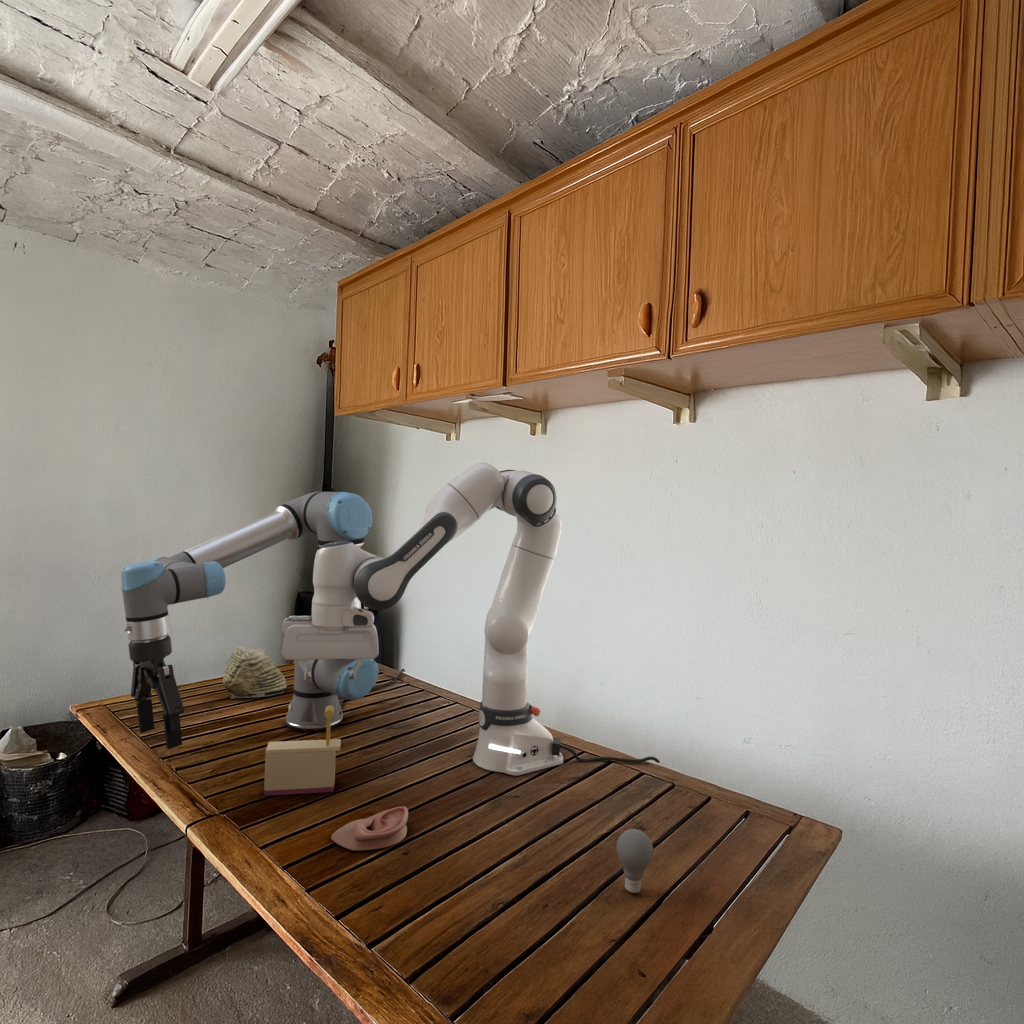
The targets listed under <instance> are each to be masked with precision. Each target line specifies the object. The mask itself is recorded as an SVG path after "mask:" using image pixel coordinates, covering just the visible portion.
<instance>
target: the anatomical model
mask: <svg viewBox="0 0 1024 1024" xmlns="http://www.w3.org/2000/svg"><path fill="white" fill-rule="evenodd" d="M408 819H409V809H408V808H407V807H406V806H405V805H404V806H402V805H401V806H396V807H393V808H389V809H386V810H382V811H381V812H378V813H376V814H373V815H371V816H369V817H365V818H360V819H356V820H352V821H350V822H348V823H345V824H344V825H343V826H341V827H339V828H337V830H335V831H334V832H333V833H332V834H331V836H330V839H331V841H333V843H336V845H338V846H339V847H342V848H344V849H347V850H350V851H357V852H359V851H371V850H379V849H383V848H388V847H392V846H394V845H396V844H399V843H400V842H402V841H403V840H404V839H405V838H406V836H407V832H408V827H407V822H408Z"/></svg>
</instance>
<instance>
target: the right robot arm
mask: <svg viewBox="0 0 1024 1024" xmlns="http://www.w3.org/2000/svg"><path fill="white" fill-rule="evenodd" d="M556 506H557V492H556V488H555V486H554V484H553V483H552V482H551V481H550V480H549V479H548V478H546V477H544V476H543V475H540V474H536V473H535V472H534V473H533V472H531V471H527V470H516V469H504V470H499V469H497V468H496V467H495V466H494V465H492V464H490V463H488V462H477V463H475V464H473V465H471V467H468V468H467V469H465V470H464V471H462V472H460V473H459V474H457V475H456V476H455V477H454V478H452V479H451V480H450V481H448V482H447V483H446V484H445V485H444V486H443V487H442V488H441V489H440V490H438V491H437V493H436V494H435V495H434V496H433V497H432V499H430V501H429V502H428V504H427V505H426V508H425V514H424V518H423V521H422V523H421V525H420V526H419V528H418V529H417V530H416V532H415V533H413V534H412V535H411V536H410V537H409V538H408V539H407V540H406V541H405V542H404V543H402V545H400V546H399V547H398V548H397V549H396V550H395V551H393V552H392V554H390V555H388V556H387V557H382V556H380V555H376V554H373V553H371V552H368V551H366V550H365V549H362V548H361V547H360V548H359V547H357V546H356V545H355V544H353V542H351V541H336V542H330V543H326V544H324V545H322V546H321V547H319V548H318V549H317V550H316V552H315V556H314V562H313V571H312V584H313V585H312V586H313V588H314V589H313V591H314V592H313V596H312V600H311V614H309V615H289V617H285V619H283V621H282V623H281V633H282V635H283V636H284V637H283V642H282V648H281V657H282V658H283V659H284V660H286V661H295V660H299V666H300V667H301V669H302V671H303V672H304V680H311V676H312V675H311V673H312V670H308V669H307V667H306V666H305V664H306V662H307V660H313V659H355V663H356V666H355V667H354V669H350V671H349V679H356V671H357V670H358V669H359V667H360V666H361V664H362V659H374V660H375V659H376V658H377V657H378V656H379V654H380V653H379V652H380V651H379V649H380V648H379V636H378V631H377V627H376V624H374V622H375V616H374V613H373V612H372V611H370V610H374V611H385V610H387V609H390V608H392V607H394V606H395V605H396V604H398V603H399V602H400V600H401V599H402V597H403V595H404V594H405V592H406V589H407V587H408V585H409V584H410V581H411V579H412V578H414V576H415V575H416V574H417V573H418V572H419V571H420V570H421V569H422V568H423V567H424V566H425V565H427V563H428V562H429V561H430V560H431V559H432V558H433V557H434V556H436V555H437V554H438V552H440V551H441V550H442V549H443V548H444V547H445V546H446V545H448V544H449V543H450V542H452V541H453V540H454V539H456V538H457V537H459V536H460V535H463V533H464V532H465V531H467V530H468V529H469V528H471V527H472V526H473V525H475V524H476V523H477V522H478V521H479V520H480V519H481V518H482V517H484V516H485V515H486V514H487V512H489V511H490V510H492V509H495V508H496V509H498V510H499V511H502V512H504V513H506V514H508V515H510V516H513V517H516V523H517V526H516V533H515V535H514V537H513V540H512V543H511V545H510V549H509V551H508V554H507V557H506V560H505V563H504V566H503V568H502V572H501V575H500V578H499V582H498V585H497V588H496V591H495V594H494V597H493V600H492V602H491V606H490V608H489V609H488V611H487V613H486V617H485V624H484V652H483V654H484V655H483V668H482V669H483V670H482V690H481V691H482V692H481V696H482V697H481V701H480V703H479V712H478V726H479V731H478V737H477V743H476V746H475V750H474V753H473V756H472V761H473V763H474V764H475V765H476V766H478V767H479V768H481V769H484V770H487V771H490V772H497V773H502V774H503V773H504V774H507V775H511V776H514V777H517V776H522V775H526V774H529V773H534V772H537V771H540V770H544V769H548V768H552V767H556V766H559V765H563V764H564V756H563V754H562V752H561V749H562V750H565V751H568V752H570V753H571V754H572V755H573V757H574V759H575V760H577V761H579V762H581V763H591V762H599V761H600V762H601V761H613V762H622V763H631V764H637V763H638V764H640V763H644V762H648V761H654V762H655V763H657V764H659V763H661V761H660V760H659V759H658V758H657V757H655V756H646V757H643V758H638V759H633V758H632V759H631V758H624V757H615V756H599V757H593V758H582V757H579V755H578V754H577V752H576V751H575V750H574V749H572V748H571V747H568V746H566V745H563V744H561V740H562V738H561V737H557V736H554V737H553V735H552V733H551V732H550V730H548V729H547V728H546V727H545V726H543V724H541V723H540V722H539V721H537V720H536V719H535V718H534V717H539V716H540V714H541V709H540V708H539V707H537V706H535V705H532V704H531V703H529V702H527V701H528V700H527V699H528V679H529V677H528V676H529V641H530V638H531V635H532V632H533V629H534V625H535V623H536V618H537V615H538V612H539V609H540V606H541V601H542V598H543V594H544V590H545V587H546V584H547V581H548V578H549V576H550V573H551V570H552V567H553V564H554V560H555V559H556V556H557V551H558V549H559V544H560V538H561V534H562V526H563V523H562V519H561V516H559V515H558V513H557V507H556ZM355 598H358V600H359V601H360V602H361V605H363V606H364V607H366V608H368V609H370V610H366V609H363V608H361V609H360V608H357V607H354V599H355ZM533 716H534V717H533Z"/></svg>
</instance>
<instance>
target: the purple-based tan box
mask: <svg viewBox="0 0 1024 1024" xmlns="http://www.w3.org/2000/svg"><path fill="white" fill-rule="evenodd" d="M336 755H337V751H318V752H295V753H273V754H266V753H265V756H264V757H265V758H264V763H265V764H264V785H263V796H264V797H269V796H284V795H286V796H287V795H301V794H319V793H333V792H335V784H336V783H335V782H336V757H337V756H336Z"/></svg>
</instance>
